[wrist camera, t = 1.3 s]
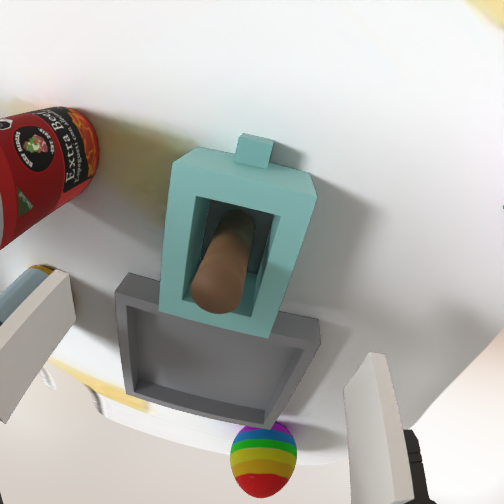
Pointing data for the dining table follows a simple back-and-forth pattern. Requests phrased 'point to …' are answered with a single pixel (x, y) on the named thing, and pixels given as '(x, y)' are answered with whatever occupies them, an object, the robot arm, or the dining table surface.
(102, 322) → the dining table surface
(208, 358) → the tray
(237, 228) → the post
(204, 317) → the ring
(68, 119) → the canned food
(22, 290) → the bottle
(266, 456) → the decorative egg
